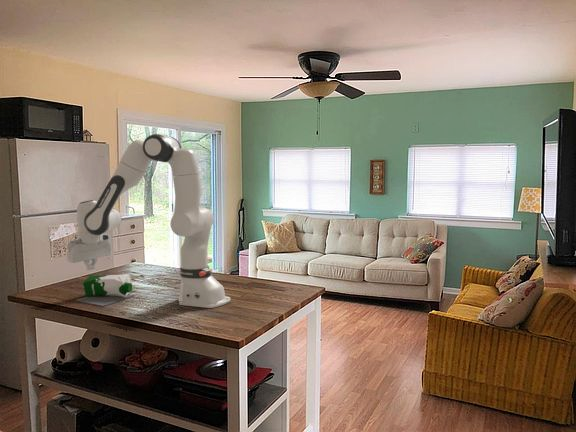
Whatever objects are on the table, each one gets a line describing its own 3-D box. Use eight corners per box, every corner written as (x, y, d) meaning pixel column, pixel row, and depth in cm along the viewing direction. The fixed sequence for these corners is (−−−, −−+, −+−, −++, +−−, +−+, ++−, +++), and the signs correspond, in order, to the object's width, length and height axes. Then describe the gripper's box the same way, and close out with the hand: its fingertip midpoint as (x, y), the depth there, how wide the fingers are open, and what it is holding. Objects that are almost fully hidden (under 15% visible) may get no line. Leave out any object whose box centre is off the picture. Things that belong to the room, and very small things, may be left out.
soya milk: (81, 281, 204) (126, 281, 202) (91, 272, 212) (134, 271, 210) (85, 299, 206) (129, 299, 205) (94, 289, 215) (137, 289, 213)
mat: (133, 296, 207) (133, 295, 207) (102, 306, 194) (102, 305, 194) (106, 291, 216) (106, 290, 216) (75, 300, 202) (75, 299, 202)
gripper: (72, 242, 195) (74, 275, 197) (113, 235, 213) (114, 265, 214) (62, 240, 198) (64, 273, 200) (103, 234, 216) (105, 263, 217)
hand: (90, 269), depth 207 cm, fingers closed
